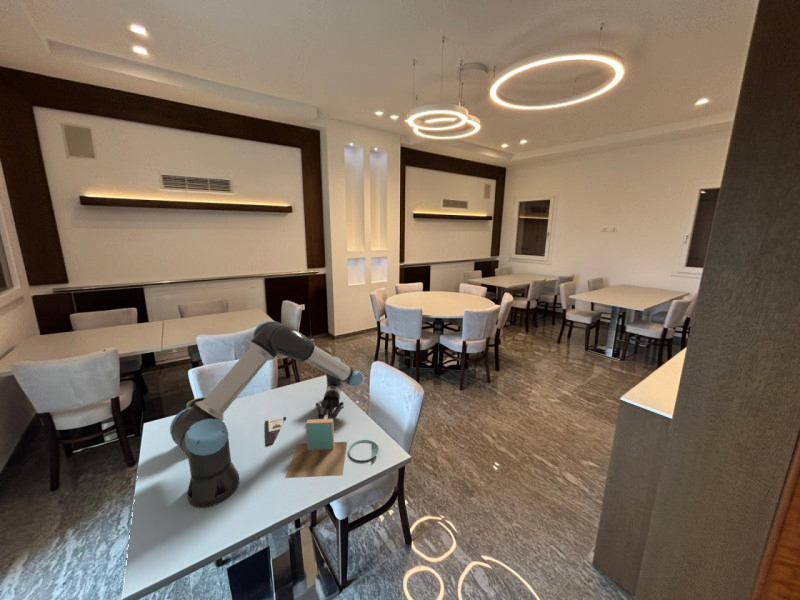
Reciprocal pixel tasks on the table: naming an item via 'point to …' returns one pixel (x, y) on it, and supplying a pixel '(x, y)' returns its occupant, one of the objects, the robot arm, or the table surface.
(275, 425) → the chocolate bar
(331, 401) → the robot arm
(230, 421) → the table surface
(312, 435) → the tile
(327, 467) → the board
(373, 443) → the saucer
